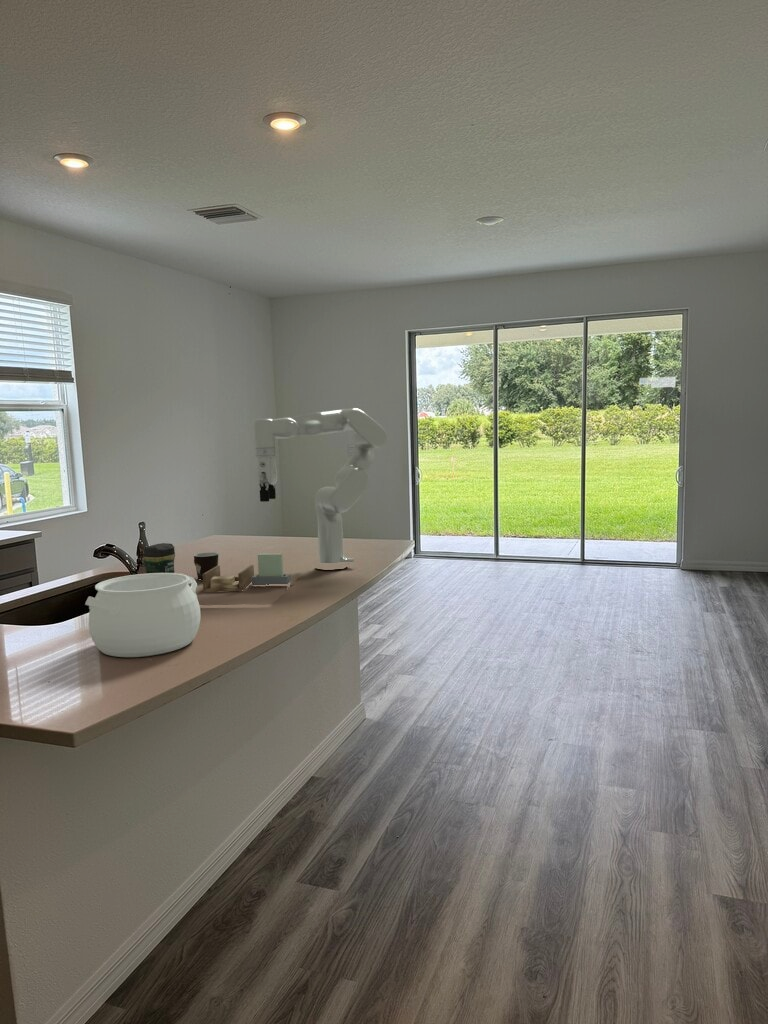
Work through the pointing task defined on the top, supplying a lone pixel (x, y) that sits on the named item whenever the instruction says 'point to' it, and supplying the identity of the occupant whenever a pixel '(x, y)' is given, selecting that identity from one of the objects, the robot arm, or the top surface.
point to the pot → (144, 614)
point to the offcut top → (223, 580)
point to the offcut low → (234, 585)
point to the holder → (270, 579)
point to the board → (270, 564)
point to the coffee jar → (159, 558)
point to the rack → (243, 579)
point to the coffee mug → (205, 562)
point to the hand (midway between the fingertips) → (268, 500)
